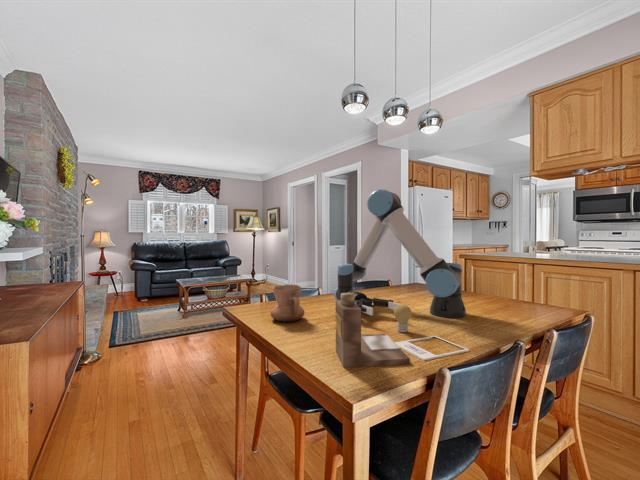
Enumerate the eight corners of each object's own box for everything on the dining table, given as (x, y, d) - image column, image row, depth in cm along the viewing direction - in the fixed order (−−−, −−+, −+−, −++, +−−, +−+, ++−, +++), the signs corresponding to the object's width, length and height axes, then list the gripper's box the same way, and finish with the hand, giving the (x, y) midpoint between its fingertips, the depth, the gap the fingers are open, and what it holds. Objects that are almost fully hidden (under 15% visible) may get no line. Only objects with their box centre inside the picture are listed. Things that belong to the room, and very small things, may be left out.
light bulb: (415, 332, 116) (415, 305, 116) (403, 335, 112) (403, 307, 112) (401, 327, 121) (401, 302, 121) (390, 330, 118) (390, 304, 117)
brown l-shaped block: (384, 337, 110) (384, 283, 109) (409, 363, 88) (410, 296, 88) (330, 340, 107) (329, 285, 107) (342, 367, 86) (342, 298, 85)
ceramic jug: (264, 317, 138) (264, 285, 137) (294, 312, 145) (294, 282, 144) (280, 328, 122) (279, 292, 122) (312, 322, 129) (312, 288, 129)
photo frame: (392, 342, 103) (434, 335, 111) (392, 345, 103) (434, 338, 111) (423, 358, 90) (469, 348, 97) (423, 362, 90) (469, 352, 97)
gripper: (378, 305, 150) (409, 315, 131) (332, 311, 139) (360, 323, 120) (378, 289, 150) (409, 297, 131) (332, 294, 138) (360, 303, 120)
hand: (386, 309), depth 125 cm, fingers open, 13 cm apart
